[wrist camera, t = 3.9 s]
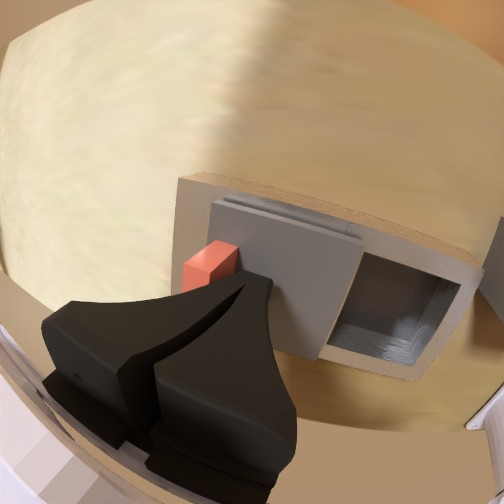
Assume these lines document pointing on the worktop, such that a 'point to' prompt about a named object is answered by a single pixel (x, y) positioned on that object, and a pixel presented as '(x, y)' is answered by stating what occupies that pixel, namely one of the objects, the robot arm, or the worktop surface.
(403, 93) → the worktop surface
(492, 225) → the worktop surface
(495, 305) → the grey block
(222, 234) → the shutter
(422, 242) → the socket
